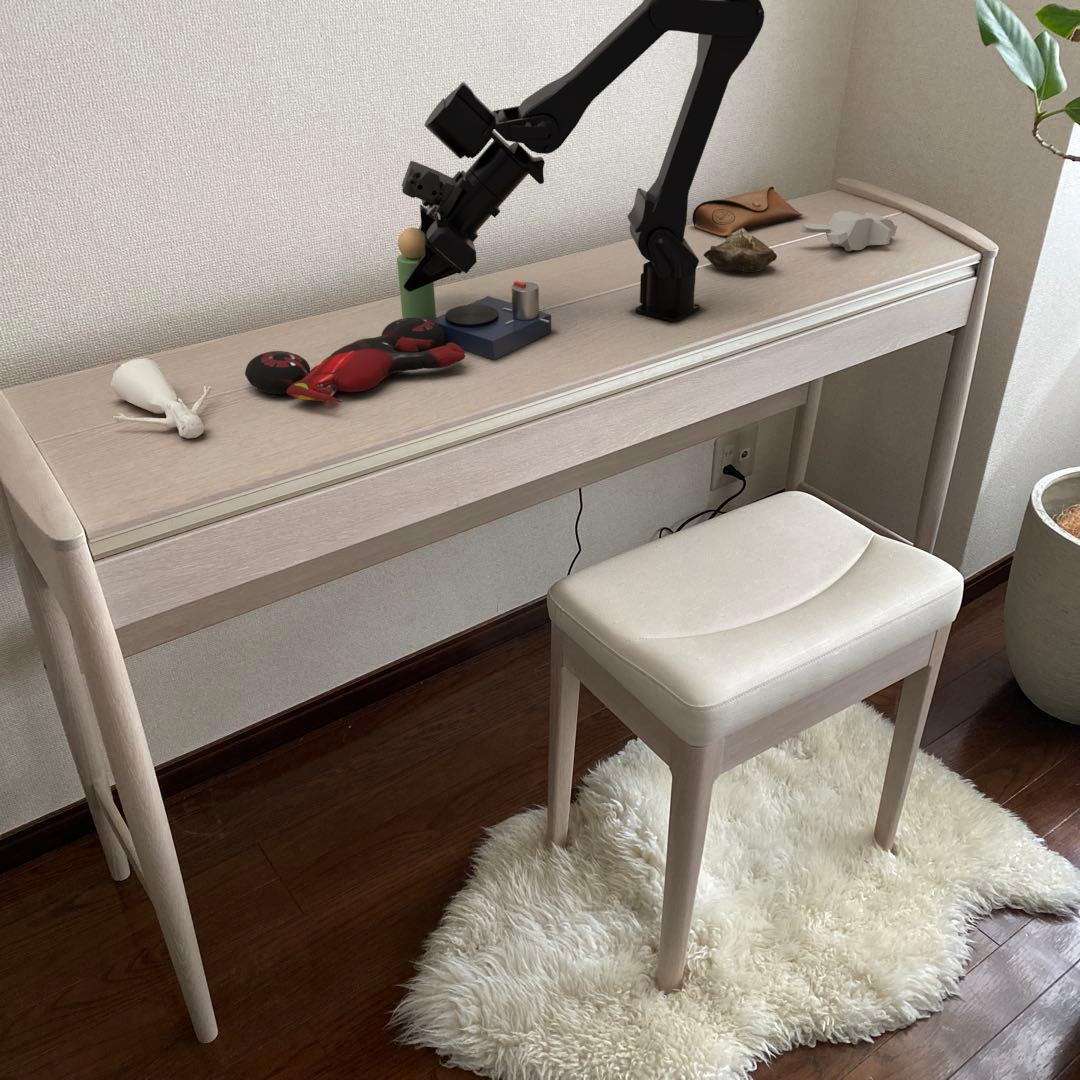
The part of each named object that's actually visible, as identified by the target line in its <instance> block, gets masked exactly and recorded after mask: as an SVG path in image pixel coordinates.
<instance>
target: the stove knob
mask: <svg viewBox="0 0 1080 1080" xmlns="http://www.w3.org/2000/svg"><path fill="white" fill-rule="evenodd" d="M539 291H540V290H539V284H537V283H535V282H531V281H518V280H515V281H513V284H512V285H511V303H512V315H513V317H514V318H516V319H519V320H531V319H535V318H537V317H538V316H539V311H540V310H539V308H540V293H539Z"/></svg>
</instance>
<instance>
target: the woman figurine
mask: <svg viewBox="0 0 1080 1080" xmlns="http://www.w3.org/2000/svg"><path fill="white" fill-rule="evenodd" d="M206 387H207V386H206V385H204V387H203V392H204V393H203V394H202V396H201V397H200V399H198V400H197V401H196V402H194V404H193V406H191V408H189V407H188V406H187V405H186V404H185V403H184V401H183V399H182V398H180V397H178V396H177V393H176V391H175V389H174V387H173V386H172V384H171V383H170V381H169V379H168V377H167V375H166V373H165V372H164V370H163V369H162V368H161V367H160V366H159V365H158V364H157V363H156V362H155V361H154V360H153V359H148V358H144V357H143V358H142V357H141V358H136V357H135V358H133V359H131V360H129V361H127V362H124V363H122V364H121V365H120V363H119V362H117V363H115V365H114V371H113V374H112V378H111V383H110V388H111V390H112V391H113V393H114V395H115V396H116V397H117V398H119V399H121V400H123V401H125V402H128V403H130V404H132V405H134V406H136V407H138V408H141V409H143V410H146V411H149V412H151V413H153V414H165V416H166V417H165V418H160V417H159V418H158V417H127V416H126V415H125V414H123V413H120V412H118V413H117V414H118V415H119V416H118V415H117V416H115V415H112V416H111V417H112V418H111V420H113V421H114V422H115V421H116V422H118V423H126V422H127V423H140V424H152V425H159V426H160V425H161V426H166V428H168V429H169V428H177V430H178V435H179V437H183V438H185V439H196V438H198V437H199V436H201V435H202V434H203V433H204V432H205V425H204V424H203V421H202V419H201V418H200V417H199V415H198V414H197V413H198V411H199V410H200V407H201V406H203V404H204V402H205V400H206V399H207V397H208V396H209V395H210V394H211V391H212V387H211V385H209V386H208V387H207V388H206Z"/></svg>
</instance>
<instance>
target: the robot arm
mask: <svg viewBox="0 0 1080 1080" xmlns="http://www.w3.org/2000/svg"><path fill="white" fill-rule="evenodd" d="M764 22H765V10H764V7H763V4H762V2H761V0H643V1H642V2H641V3H640V4H639V5H638V6H637V7H636V8H635V9H634V10H633V11H632V12H630V14H629V15H627V17H626V18H624V19H623V21H622V22H621V23H619V24H618V25H617V26H616V27H615V28H614V29H613V30H612V31H611V32H610V33H609V34H608V35H606V36H605V38H603V40H602V41H600V43H598V44H597V45H596V46H595V47H594V48H593V49H592V50H591V51H589V53H588V54H587V55H586V56H585V57H584V58H583V59H582V60H580V62H579V63H578V64H576V66H574V67H573V68H572V69H571V70H570V71H569V72H567V73H565V74H564V75H562V76H560V77H559V78H557V79H555V80H553V81H551V82H549V83H547V84H546V85H544V86H542V87H541V88H539V89H538V90H537V91H535V92H533V93H532V94H531V95H529V96H528V97H526V98H525V99H524V100H522V102H521V103H520V104H519V105H516V106H511V107H505V108H501V109H496V110H495V109H494V110H491V109H490V108H489V107H488V106H487V105H486V104H485V103H484V102H483V101H481V100H480V98H478V97H477V96H476V94H475V93H474V91H473V90H472V88H471V87H469V86H468V84H467V83H466V82H464V81H463V82H461V83H460V84H459V85H458V86H457V87H456V88H455V89H454V90H452V91H451V92H450V93H449V94H448V95H447V96H446V97H445V98H442V99H441V100H440V101H439V103H438V104H437V105H436V106H435V107H434V109H433V110H432V111H431V113H430V114H429V115H428V117H427V119H426V120H425V122H424V128H425V129H427V130H428V131H429V132H430V133H432V135H433V136H435V138H437V140H439V141H440V142H441V143H442V144H443V145H444V146H445V147H446V148H447V149H448V150H449V151H450V152H451V153H452V154H454V156H456V157H457V158H458V160H459V159H463V158H464V157H466V158H467V159H474V158H476V157H477V156H478V155H479V154H480V155H479V156H478V158H477V159H476V160H475V161H474V162H473V163H472V165H471V166H470V167H469V168H468V169H467V171H464V170H462V171H461V170H459V171H457V172H456V173H455V175H454V176H452V177H451V176H449V175H447V174H445V173H443V172H441V171H438V170H436V169H433V168H432V167H429V166H426V165H425V164H422V163H420V162H417V161H414V160H410V161H409V164H408V166H407V169H406V172H405V174H404V177H403V180H402V183H401V187H402V189H401V192H402V193H403V194H404V196H405V195H406V196H407V197H409V198H412V199H415V198H417V199H419V200H421V204H419V214H420V225H419V227H418V229H420V230H421V231H423V232H424V246H425V251H424V253H423V254H422V256H421V258H420V259H419V261H418V262H417V264H416V265H415V267H414V269H413V270H412V272H411V273H410V275H409V277H408V278H407V280H406V282H405V283H404V288H405V289H406V290H407V291H409V292H411V291H413V290H416V289H418V288H420V287H423V286H425V285H428V284H430V283H432V282H434V283H435V282H437V281H440V280H442V279H445V278H448V277H450V276H454V275H456V274H458V275H460V274H462V273H464V274H467V273H468V272H469V271H470V270H471V269H472V268H473V267H474V266H475V265H476V263H477V250H476V246H475V243H474V242H475V241H476V240H477V238H478V237H479V235H478V231H479V230H480V228H481V227H483V226H484V225H485V223H486V222H487V221H488V220H489V219H490V217H493V218H495V219H496V217H497V216H498V215H499V214H500V213H501V209H500V207H501V205H502V204H503V203H504V202H505V201H506V200H507V198H508V197H510V195H511V194H513V192H514V190H516V188H517V187H519V185H520V184H521V183H522V182H523V181H524V179H525V178H526V177H527V176H528V175H529V176H531V178H533V179H534V180H535V182H537V183H538V184H539V185H543V184H544V183H545V178H544V167H545V164H546V162H545V160H544V158H543V157H542V156H537V157H536V156H532V155H531V154H530V153H529V152H528V151H527V150H526V149H525V147H526V148H527V149H528V150H529V151H530V152H533V153H536V154H541V155H542V154H543V155H545V154H546V155H548V154H552V153H554V152H555V151H556V150H558V149H560V147H561V146H562V145H563V144H564V142H565V141H566V140H567V139H568V137H569V136H570V134H571V133H572V132H573V131H574V130H575V129H576V127H577V126H578V124H579V122H580V120H581V119H582V118H583V116H584V114H585V112H586V110H587V109H588V108H589V106H590V105H591V104H592V102H593V101H594V100H595V99H596V98H597V97H598V96H599V95H600V94H601V93H602V92H603V91H605V90H606V89H607V88H608V87H609V86H610V85H611V84H612V83H613V82H614V81H615V80H616V79H617V78H619V76H620V75H622V74H623V73H624V72H625V71H626V70H627V69H628V68H629V67H630V66H631V65H632V64H633V63H634V62H636V61H637V59H639V58H640V57H641V56H642V55H643V54H644V53H645V52H646V51H648V49H649V48H651V47H652V46H653V45H654V44H655V43H656V42H657V41H658V40H659V39H660V38H661V37H662V36H663V35H664V34H666V33H667V32H669V31H670V32H681V33H690V34H696V35H697V50H696V63H695V67H694V71H693V73H692V76H691V79H690V82H689V84H688V88H687V91H686V94H685V96H684V100H683V102H682V105H681V107H680V112H679V114H678V117H677V120H676V123H675V125H674V128H673V131H672V134H671V137H670V140H669V143H668V146H667V148H666V152H665V154H664V158H663V160H662V164H661V166H660V169H659V172H658V175H657V178H656V179H655V181H654V182H653V184H651V186H650V187H649V189H648V190H647V191H646V190H644V189H642V188H640V187H638V188H637V189H636V192H635V196H634V197H635V198H634V203H633V206H632V208H631V210H630V211H629V213H628V214H627V216H626V217H627V220H628V221H629V223H630V225H629V233H630V236H631V238H632V239H633V241H634V243H635V245H636V247H637V249H638V251H639V253H640V254H641V256H642V257H643V258H645V260H646V261H647V262H645V263H643V266H642V267H643V268H642V273H641V274H640V283H639V284H640V286H639V303H640V305H638V306H636V307H635V308H634V312H635V313H639V314H642V315H645V316H649V317H652V318H655V319H660V320H663V321H667V322H671V323H675V322H678V321H680V320H682V319H683V318H685V317H687V316H689V315H691V314H693V313H695V312H697V311H699V310H700V309H701V305H700V304H699V303H695V291H696V290H695V288H696V274H697V273H696V272H697V268H698V265H699V263H700V260H699V258H698V256H697V255H696V254H695V252H694V250H693V248H692V247H691V246H690V244H689V243H688V241H687V239H686V238H685V232H686V227H687V221H688V205H689V194H690V190H691V187H692V185H693V181H694V179H695V176H696V174H697V171H698V168H699V166H700V162H701V160H702V157H703V154H704V152H705V149H706V146H707V143H708V140H709V138H710V135H711V132H712V129H713V126H714V124H715V121H716V118H717V115H718V112H719V110H720V107H721V105H722V102H723V98H724V97H725V93H726V91H727V87H728V85H729V82H730V80H731V78H732V76H733V74H734V73H735V72H736V71H737V69H738V68H739V67H740V66H741V64H742V63H743V62H744V60H745V59H746V57H747V56H748V55H749V53H750V51H751V49H752V48H753V45H754V44H755V42H756V40H757V38H758V36H759V35H760V33H761V30H762V29H763V26H764ZM497 133H498V134H497ZM491 140H493V141H492V142H491V143H490V144H489V145H488V146H487V144H488V143H489V142H490V141H491ZM507 142H513V143H512V144H509V143H507ZM521 144H523V145H524V147H523V146H522V145H521ZM486 146H487V147H486ZM485 147H486V148H485ZM484 148H485V150H484ZM483 150H484V151H483ZM482 151H483V152H482ZM481 152H482V153H481Z"/></svg>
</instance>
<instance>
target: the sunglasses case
mask: <svg viewBox="0 0 1080 1080" xmlns="http://www.w3.org/2000/svg"><path fill="white" fill-rule="evenodd" d="M801 216H803V214H802V213H800V212H799V211H798V210H796V208H794V207H793V206H792V205H791V204H790V203H788V201H786V199H785V198H783V196H781V195H780V194H779V193H778V192H777V191H775V187H774V186H768V187H767V188H765V189H761V190H757V191H751V192H750V191H749V192H746V193H741V194H737V195H733V196H729V197H725V198H721V199H712V200H711V199H710V200H707V201H704V202H701V203H699V204H698V205H697V206H696V207H694V209H693V212H692V224H693V226H694V228H695V229H698V230H701V231H703V232H705V233H707V234H712V235H716V236H720V237H721V236H722V237H728V235H729V234H730V233H734V232H736V231H737V230H738V229H740V228H744V229H745V230H746V231H750V230H755V229H759V228H762V227H767V226H772V225H777V224H780V223H783V222H788V221H791V220H792V219H796V218H798V217H801Z"/></svg>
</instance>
